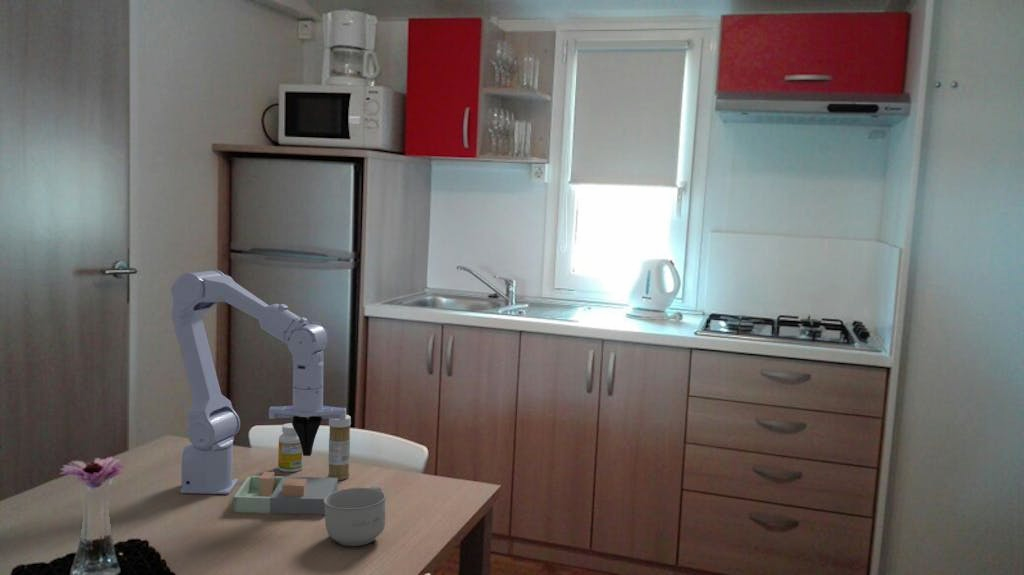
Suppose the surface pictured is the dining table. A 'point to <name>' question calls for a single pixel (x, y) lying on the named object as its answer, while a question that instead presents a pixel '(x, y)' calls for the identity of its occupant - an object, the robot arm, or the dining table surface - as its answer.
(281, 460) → the supplement bottle
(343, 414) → the robot arm
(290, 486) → the tile
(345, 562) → the dining table surface
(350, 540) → the teacup
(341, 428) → the sprinkles bottle
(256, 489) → the tray
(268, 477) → the tile
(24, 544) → the dining table surface
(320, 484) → the slate board
